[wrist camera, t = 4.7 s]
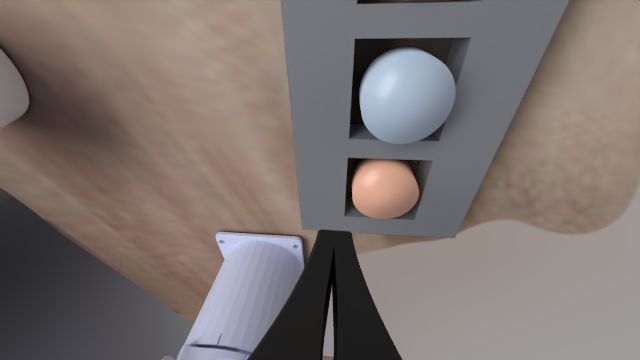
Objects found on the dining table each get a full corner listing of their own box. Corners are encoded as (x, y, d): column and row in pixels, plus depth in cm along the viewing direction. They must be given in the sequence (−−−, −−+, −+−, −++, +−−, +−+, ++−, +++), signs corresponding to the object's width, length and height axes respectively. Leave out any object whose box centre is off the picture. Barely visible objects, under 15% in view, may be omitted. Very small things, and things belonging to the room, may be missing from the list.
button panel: (445, 218, 19) (454, 238, 17) (305, 210, 20) (302, 229, 18) (654, -286, 7) (751, -376, 5) (271, -243, 8) (252, -307, 6)
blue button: (429, 127, 13) (440, 145, 12) (356, 126, 14) (357, 143, 12) (451, 45, 11) (469, 53, 9) (362, 46, 11) (364, 53, 10)
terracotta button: (405, 200, 17) (411, 220, 16) (350, 198, 18) (350, 217, 16) (418, 152, 15) (426, 170, 13) (353, 150, 15) (354, 168, 14)
